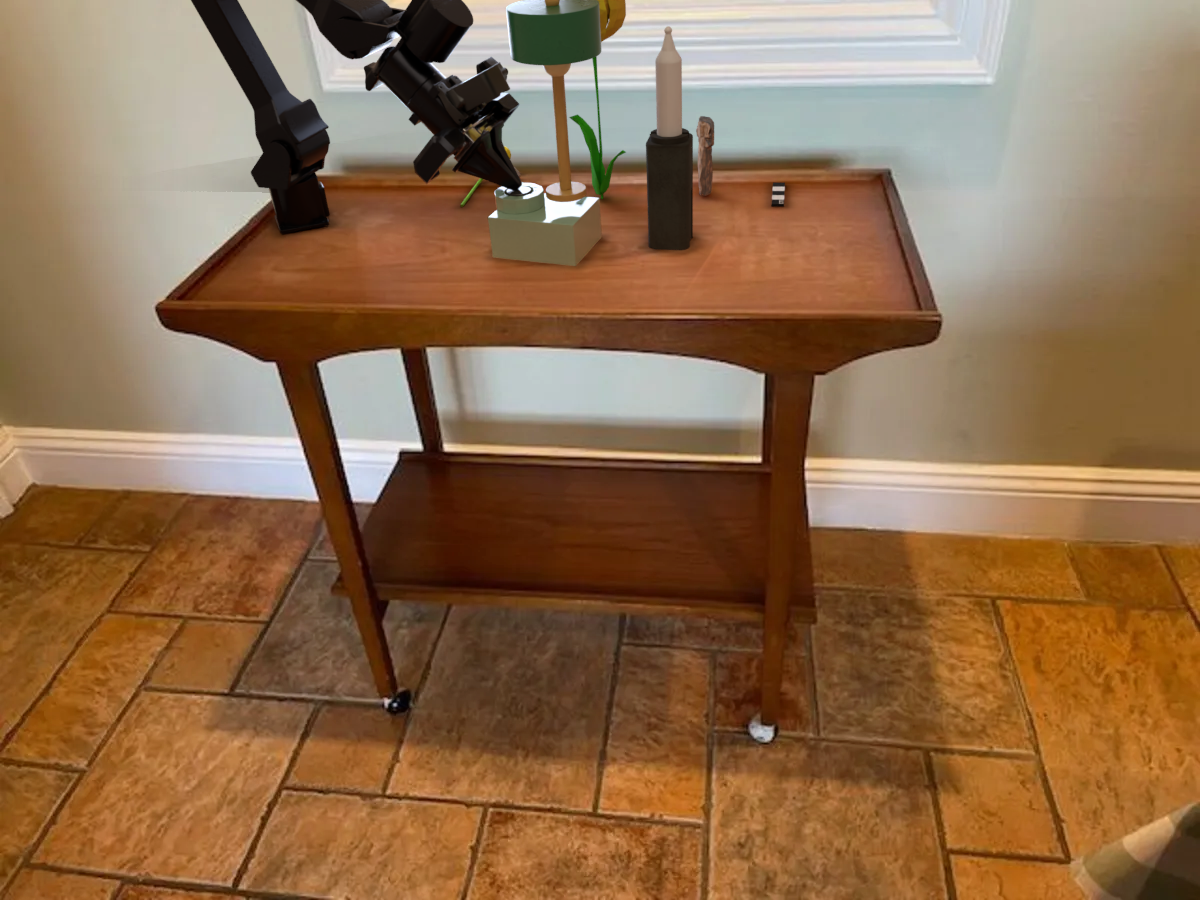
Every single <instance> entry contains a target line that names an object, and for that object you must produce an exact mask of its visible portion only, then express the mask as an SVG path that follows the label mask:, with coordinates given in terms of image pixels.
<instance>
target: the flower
mask: <svg viewBox="0 0 1200 900" xmlns="http://www.w3.org/2000/svg"><path fill="white" fill-rule="evenodd" d="M598 1H599V9H600V30H601V43H602V42H604V41H605V40H607V39H609V38H611V37H613V36H614V35H615V34H616V33H617V32H618V31H619V30H620V29H621V28H622V27H623V24H624V22H625V19H626V16H627V6H626V0H598ZM597 59H598V56H596V57H594V58H592V59H591V60H592V65H593V66H592V67H593V75H594V76H593V77H594V85H595V95H596V109H597V110H596V111H597V127H598V128H597V129H598V140H597V137H596V136H597V135H596V134H595V131H594V129H593V128H592V127H591V126H590V125H589V123H587V121H586V120H585V119H584V118H583V117H582V116H580V115H579V114H575V115H572V116H569V117H568V118H569V119H570V120H572V121H573V122H574V123H575V124H577V125H578V126H579V128H580V130H581V133H582V135H583V138H584V140H585V145H586V146H587V148H588V152H589V156H590V157H589V159H590V170H591V185H592V188H593V190H594V193H595V195H597V196H600V200H604V194H605V193H606V192H607V191H608V189H610V184H611V178H612V173H613V169H614V164H615V162H616V160H617V159H618V158H619V157H620V156H622V155H623V154H625V153H627V151H625V150H624V149H622V150H620V151H619V153H617V154H616V155H615V156H614V157H613V158H612V159H611V160H610V162H609V163H608V166H607V169H606V168H605V165H604V162H603V142H602V141H603V139H602V128H601V125H602V124H601V115H600V114H601V112H600V97H599V80H598V79H599V78H598V60H597Z"/></svg>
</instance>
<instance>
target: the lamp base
mask: <svg viewBox="0 0 1200 900" xmlns="http://www.w3.org/2000/svg"><path fill="white" fill-rule="evenodd" d="M521 182H522V186H527V187H530V188H531V192H532V193H531V194H528V195H525V196H517V197H516V196H508V195H507V190H508V188H505V187H503V186H499V187H497V189H495V190H494V192H493V193H494V201H495V208H496V210H494V211H493V212H492V213H491V214H490V215H488V216H487V222H488V231H489V238H490V239H489V240H490V247H491V256H492V258H494V259H505V260H511V261H523V262H532V263H540V264H550V265H561V266H569V267H577V266H578V264H579V263H580V262H581V261H582V260H583V259H584V258H585V257H586V256H587V255H588V253H589V252H590V251H591V250H593V248H594V247H595V246H596V244H598V242H599V241H600V240H601V239H602V238H603V235H602V218H601V216H602V215H601V197H596V196H595V197H594V196H585V197H583V198H582V199H579V200H576V201H571V202H556V201H552V200H549V199H548V198H547V197H546V192H545V190H544V187H543V186H542V185H540V184H537V183H534V182H523V181H521Z"/></svg>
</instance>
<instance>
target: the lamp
mask: <svg viewBox="0 0 1200 900" xmlns="http://www.w3.org/2000/svg"><path fill="white" fill-rule="evenodd" d="M505 15H506V23H507V33H508V44H509V45H508V46H509V51H510V53H509V54H510V59H511V60H512V61H513V62H515V63H520V64H523V65H531V66H542V67H543V70H544V71H545V72H546V74H548V75H549V76H551V89H552V100H553V101H552V102H553V103H552V104H553V116H554V126H555V127H554V129H555V141H556V155H557V156H556V157H557V167H558V179H559V180H558V182H555V183H552V184H550V185H548V186H547V187H546V189H545V193H546V197H547V198H548V199H549V200H552V201H556V202H571V201H576V200H579V199H582V198H583V197H587V185H585V184H584V183H582V182H578V181H572V170H571V156H570V143H569V128H568V126H569V125H568V113H567V112H568V111H567V100H566V87H565V85H566V84H565V75H566V74H567V73H568V72H569V71H570V69H571V66H572V64H575V63H581V62H586V61H589V60H593V59H592V58H594V57H596V56H597V57H599V55H600V54H602V42H601V30H600V9H599V1H598V0H519V1H515V2H513V3H510V4H509V5H507V6H506V8H505Z"/></svg>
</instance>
